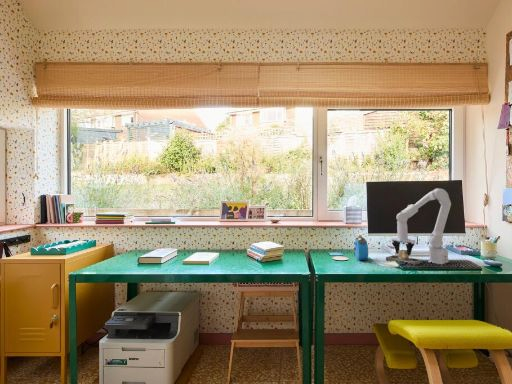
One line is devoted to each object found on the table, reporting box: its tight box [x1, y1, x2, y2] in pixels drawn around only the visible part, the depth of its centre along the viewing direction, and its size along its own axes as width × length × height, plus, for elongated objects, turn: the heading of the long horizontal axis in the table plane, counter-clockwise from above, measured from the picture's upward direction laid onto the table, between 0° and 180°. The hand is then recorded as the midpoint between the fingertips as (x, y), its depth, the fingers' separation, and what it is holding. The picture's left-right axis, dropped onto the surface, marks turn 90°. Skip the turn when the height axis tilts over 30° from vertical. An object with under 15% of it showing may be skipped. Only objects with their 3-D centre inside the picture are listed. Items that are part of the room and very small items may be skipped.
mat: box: [383, 261, 400, 268], centre depth 212 cm, size 9×9×1 cm
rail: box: [385, 254, 424, 265], centre depth 217 cm, size 20×8×2 cm, turn 33°
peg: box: [398, 249, 410, 260], centre depth 217 cm, size 4×4×7 cm
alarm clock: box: [354, 235, 369, 261], centre depth 229 cm, size 13×6×15 cm, turn 176°
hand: (403, 254), depth 217 cm, fingers open, 7 cm apart
